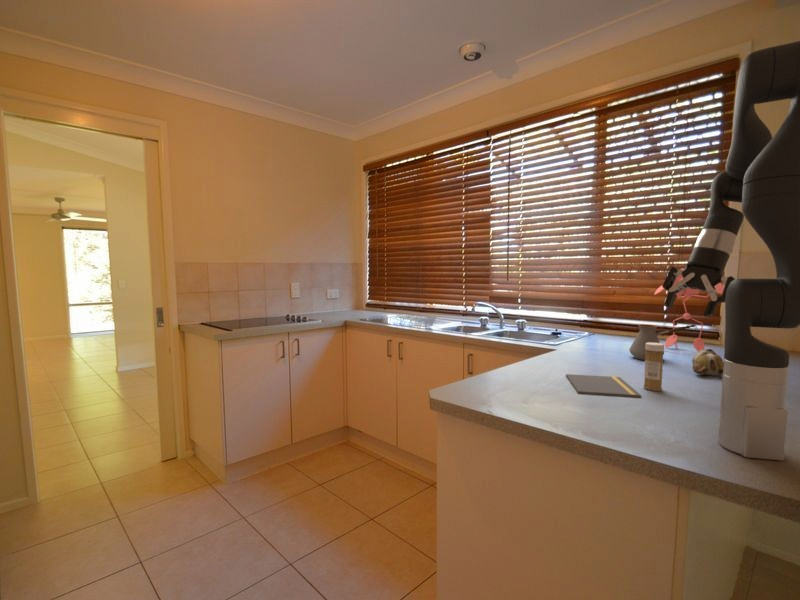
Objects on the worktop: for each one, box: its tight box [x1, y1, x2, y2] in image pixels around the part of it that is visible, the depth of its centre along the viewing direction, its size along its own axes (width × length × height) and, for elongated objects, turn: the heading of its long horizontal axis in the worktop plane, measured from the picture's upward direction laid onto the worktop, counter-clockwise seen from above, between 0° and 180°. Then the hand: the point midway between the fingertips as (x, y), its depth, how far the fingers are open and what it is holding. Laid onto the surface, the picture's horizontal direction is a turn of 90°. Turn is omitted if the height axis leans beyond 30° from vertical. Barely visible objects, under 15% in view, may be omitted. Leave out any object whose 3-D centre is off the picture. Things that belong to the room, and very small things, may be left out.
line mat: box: [565, 373, 642, 398], centre depth 118 cm, size 18×16×1 cm
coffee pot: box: [628, 324, 698, 361], centre depth 148 cm, size 21×12×15 cm, turn 40°
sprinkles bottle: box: [643, 342, 665, 392], centre depth 114 cm, size 5×5×13 cm
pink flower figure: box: [653, 267, 725, 356], centre depth 164 cm, size 15×26×35 cm, turn 31°
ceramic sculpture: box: [691, 348, 724, 376], centre depth 130 cm, size 11×9×15 cm
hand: (687, 311), depth 99 cm, fingers open, 8 cm apart
